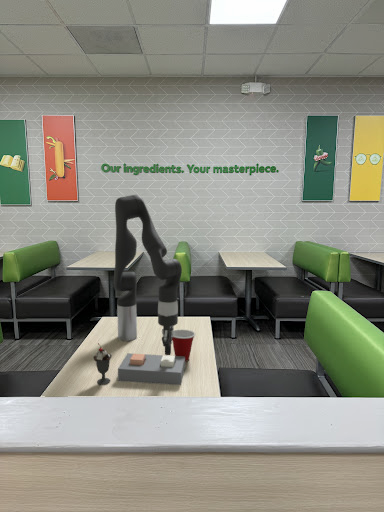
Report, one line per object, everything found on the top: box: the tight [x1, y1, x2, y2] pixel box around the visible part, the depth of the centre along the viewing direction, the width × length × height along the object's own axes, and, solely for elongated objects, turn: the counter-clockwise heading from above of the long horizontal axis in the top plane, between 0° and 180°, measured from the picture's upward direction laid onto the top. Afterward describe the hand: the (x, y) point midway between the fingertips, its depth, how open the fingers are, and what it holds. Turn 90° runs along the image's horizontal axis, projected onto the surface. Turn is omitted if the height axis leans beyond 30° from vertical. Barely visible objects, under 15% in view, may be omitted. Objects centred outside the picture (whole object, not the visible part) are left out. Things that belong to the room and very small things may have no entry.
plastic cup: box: [172, 329, 196, 362], centre depth 145 cm, size 11×11×12 cm
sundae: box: [93, 343, 113, 386], centre depth 126 cm, size 7×7×15 cm
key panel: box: [117, 352, 186, 386], centre depth 133 cm, size 13×24×5 cm, turn 85°
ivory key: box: [161, 354, 175, 367], centre depth 132 cm, size 5×5×4 cm
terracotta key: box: [130, 353, 145, 365], centre depth 133 cm, size 5×5×4 cm
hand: (167, 354), depth 131 cm, fingers closed
